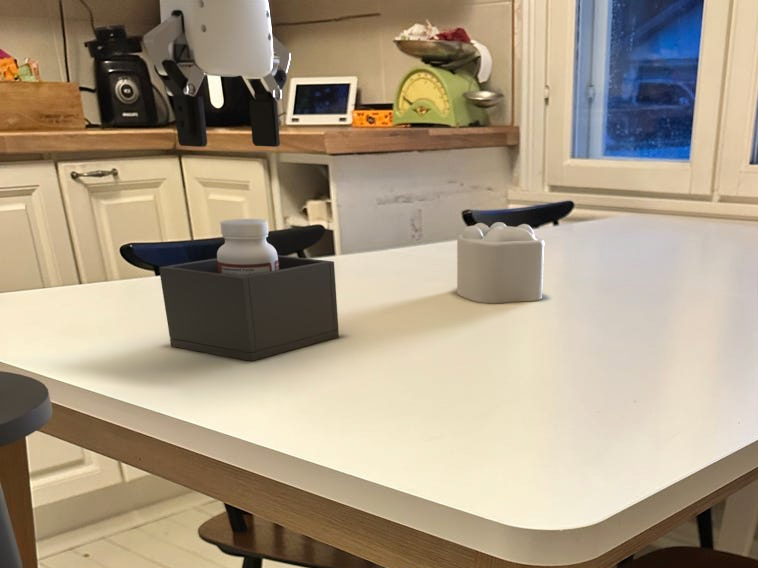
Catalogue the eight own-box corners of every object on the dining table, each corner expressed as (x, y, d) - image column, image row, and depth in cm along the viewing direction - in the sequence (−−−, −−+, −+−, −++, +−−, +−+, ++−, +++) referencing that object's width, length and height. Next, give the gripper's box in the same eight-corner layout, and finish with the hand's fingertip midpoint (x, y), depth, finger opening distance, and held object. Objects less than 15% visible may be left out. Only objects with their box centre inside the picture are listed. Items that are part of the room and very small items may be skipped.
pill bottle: (248, 325, 102) (236, 216, 96) (296, 330, 100) (286, 219, 94) (214, 336, 97) (199, 222, 91) (263, 342, 95) (251, 225, 89)
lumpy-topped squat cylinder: (479, 304, 119) (480, 231, 114) (443, 288, 129) (443, 220, 125) (551, 299, 122) (554, 228, 118) (510, 284, 133) (512, 218, 128)
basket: (251, 361, 91) (242, 278, 87) (170, 346, 97) (158, 267, 93) (339, 336, 101) (334, 261, 97) (261, 324, 107) (254, 252, 103)
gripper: (250, -56, 89) (265, 145, 97) (100, -90, 76) (133, 144, 84) (308, -60, 86) (319, 147, 94) (163, -97, 73) (190, 147, 81)
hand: (231, 146), depth 89 cm, fingers open, 9 cm apart
